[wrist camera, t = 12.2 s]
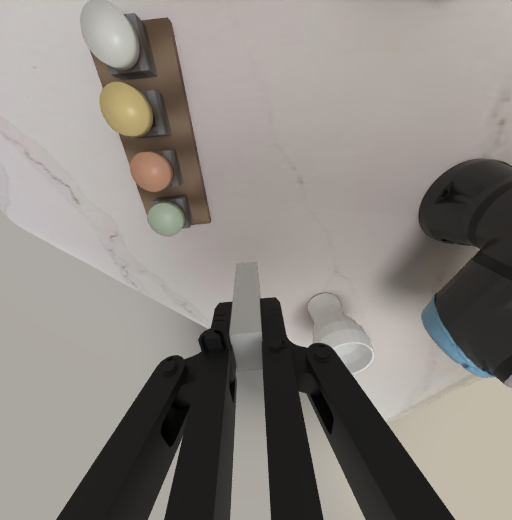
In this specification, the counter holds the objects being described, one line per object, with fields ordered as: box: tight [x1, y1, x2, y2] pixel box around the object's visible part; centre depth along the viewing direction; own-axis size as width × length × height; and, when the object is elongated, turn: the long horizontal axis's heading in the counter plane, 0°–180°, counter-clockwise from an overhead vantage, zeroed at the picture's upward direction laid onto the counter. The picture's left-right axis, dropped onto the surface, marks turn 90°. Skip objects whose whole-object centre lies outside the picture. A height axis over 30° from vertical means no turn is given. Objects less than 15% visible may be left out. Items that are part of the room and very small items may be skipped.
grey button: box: [80, 0, 140, 70], centre depth 25 cm, size 5×5×5 cm
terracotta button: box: [130, 151, 173, 192], centre depth 32 cm, size 5×5×5 cm
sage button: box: [147, 201, 185, 236], centre depth 35 cm, size 5×5×5 cm
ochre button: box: [100, 82, 155, 136], centre depth 27 cm, size 5×5×5 cm
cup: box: [307, 293, 374, 374], centre depth 45 cm, size 11×11×15 cm
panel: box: [90, 13, 211, 228], centre depth 33 cm, size 27×11×4 cm, turn 5°
